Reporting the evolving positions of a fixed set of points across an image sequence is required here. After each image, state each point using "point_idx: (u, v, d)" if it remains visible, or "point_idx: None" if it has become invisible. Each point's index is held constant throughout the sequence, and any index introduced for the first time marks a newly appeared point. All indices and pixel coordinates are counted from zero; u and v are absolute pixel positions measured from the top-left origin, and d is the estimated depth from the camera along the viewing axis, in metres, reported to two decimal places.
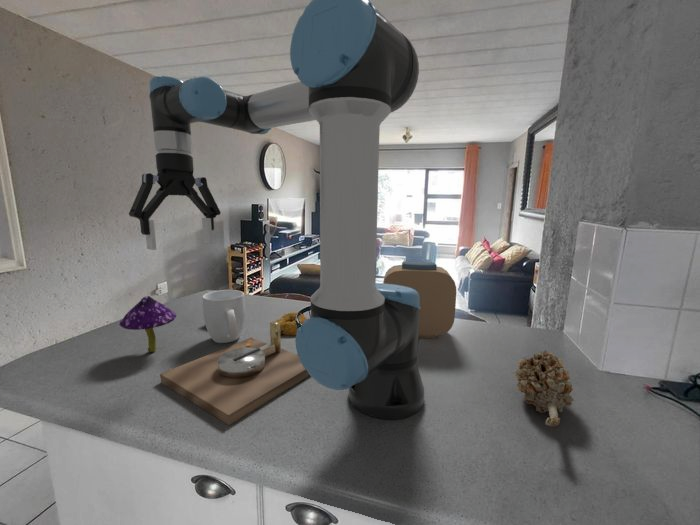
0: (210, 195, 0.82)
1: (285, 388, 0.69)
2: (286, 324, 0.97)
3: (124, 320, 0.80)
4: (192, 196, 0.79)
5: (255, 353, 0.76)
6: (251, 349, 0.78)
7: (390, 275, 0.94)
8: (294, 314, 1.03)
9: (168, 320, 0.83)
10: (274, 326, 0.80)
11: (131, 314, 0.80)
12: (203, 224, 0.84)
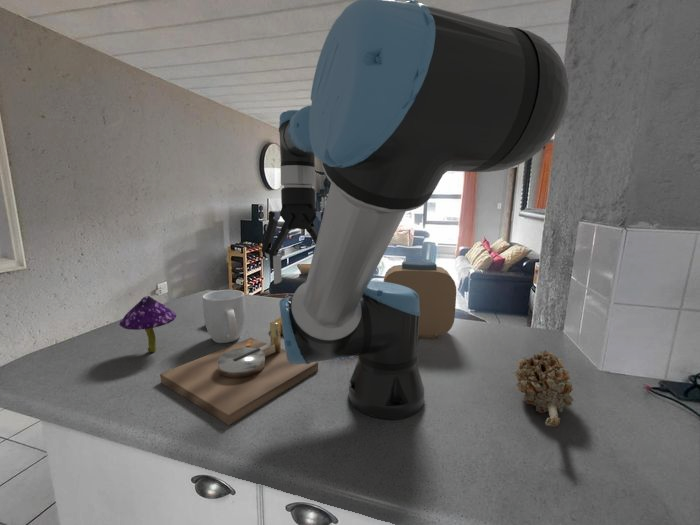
0: None
1: (285, 388, 0.69)
2: None
3: (124, 320, 0.80)
4: None
5: (255, 353, 0.76)
6: (251, 349, 0.78)
7: (390, 275, 0.94)
8: None
9: (168, 320, 0.83)
10: (274, 326, 0.80)
11: (131, 314, 0.80)
12: None
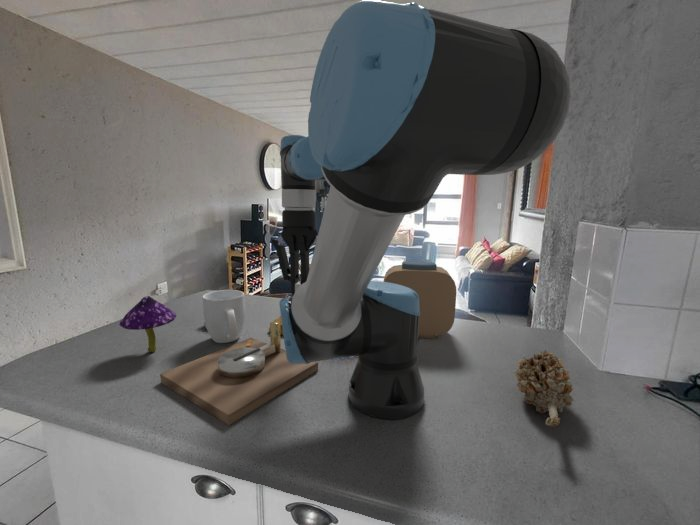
0: None
1: (285, 388, 0.69)
2: None
3: (124, 320, 0.80)
4: None
5: (255, 353, 0.76)
6: (251, 349, 0.78)
7: (390, 275, 0.94)
8: None
9: (168, 320, 0.83)
10: (274, 326, 0.80)
11: (131, 314, 0.80)
12: None
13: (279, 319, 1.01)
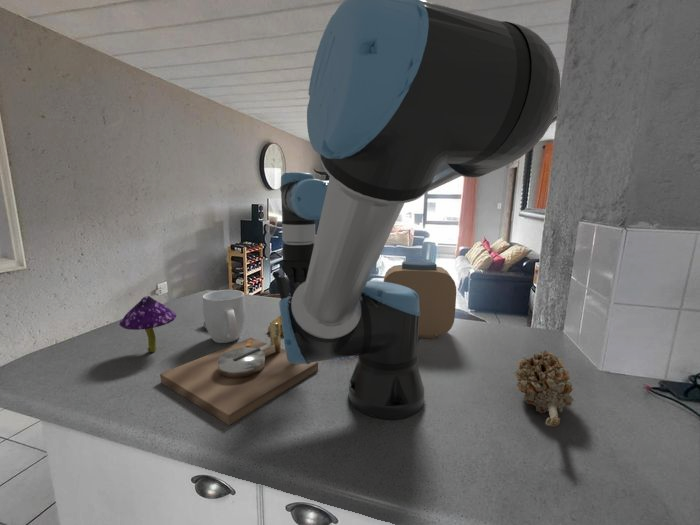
0: None
1: (285, 388, 0.69)
2: None
3: (124, 320, 0.80)
4: None
5: (255, 353, 0.76)
6: (251, 349, 0.78)
7: (390, 275, 0.94)
8: None
9: (168, 320, 0.83)
10: (274, 326, 0.80)
11: (131, 314, 0.80)
12: None
13: (278, 319, 1.01)
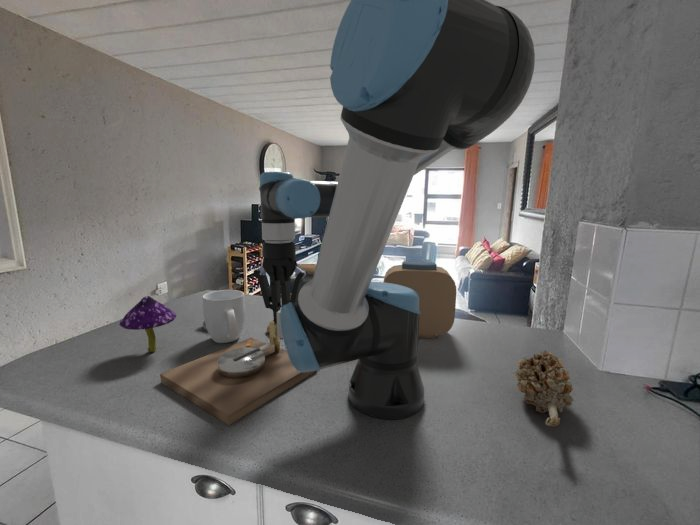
0: (295, 290, 0.77)
1: (285, 388, 0.69)
2: None
3: (124, 320, 0.80)
4: None
5: (255, 353, 0.76)
6: (251, 349, 0.78)
7: (390, 275, 0.94)
8: None
9: (168, 320, 0.83)
10: (273, 326, 0.80)
11: (131, 314, 0.80)
12: None
13: None
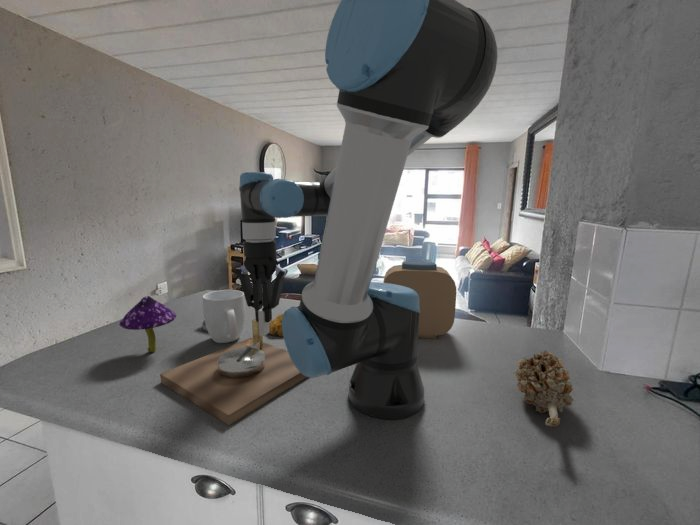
0: (276, 288, 0.78)
1: (285, 388, 0.69)
2: (280, 325, 0.97)
3: (124, 320, 0.80)
4: None
5: (250, 351, 0.76)
6: (242, 349, 0.77)
7: (390, 275, 0.94)
8: None
9: (168, 320, 0.83)
10: (258, 323, 0.81)
11: (131, 314, 0.80)
12: None
13: (276, 319, 1.01)
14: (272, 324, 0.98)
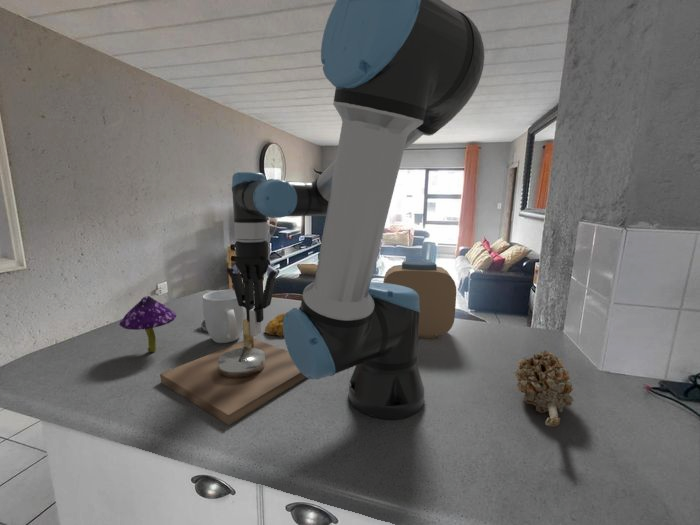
0: (268, 288, 0.78)
1: (285, 388, 0.69)
2: (279, 325, 0.97)
3: (124, 320, 0.80)
4: None
5: (248, 351, 0.77)
6: (237, 350, 0.77)
7: (390, 275, 0.94)
8: None
9: (168, 320, 0.83)
10: None
11: (131, 314, 0.80)
12: None
13: (275, 320, 1.00)
14: (271, 324, 0.98)
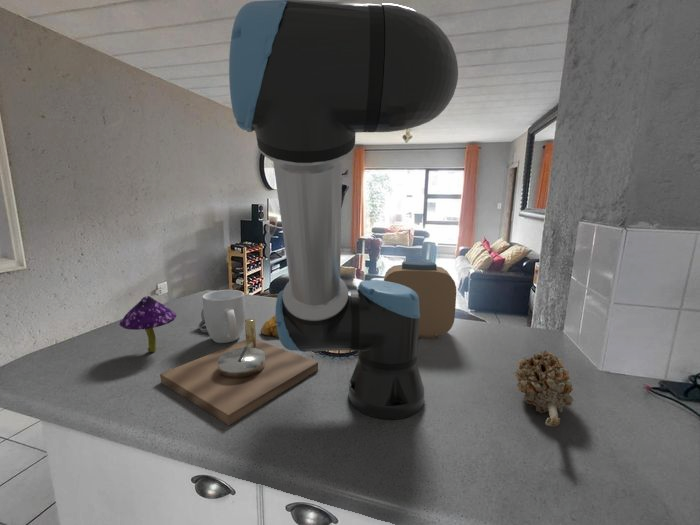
0: None
1: (285, 388, 0.69)
2: (276, 325, 0.96)
3: (124, 320, 0.80)
4: None
5: (248, 351, 0.77)
6: (238, 349, 0.77)
7: (390, 275, 0.94)
8: None
9: (168, 320, 0.83)
10: (252, 323, 0.82)
11: (131, 314, 0.80)
12: None
13: (271, 320, 1.00)
14: (267, 325, 0.97)
